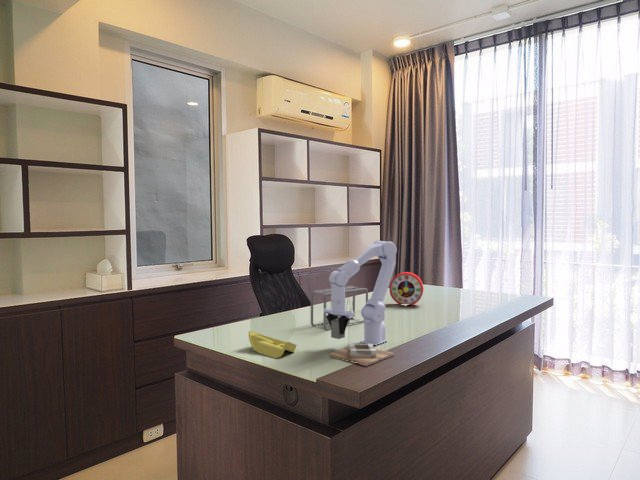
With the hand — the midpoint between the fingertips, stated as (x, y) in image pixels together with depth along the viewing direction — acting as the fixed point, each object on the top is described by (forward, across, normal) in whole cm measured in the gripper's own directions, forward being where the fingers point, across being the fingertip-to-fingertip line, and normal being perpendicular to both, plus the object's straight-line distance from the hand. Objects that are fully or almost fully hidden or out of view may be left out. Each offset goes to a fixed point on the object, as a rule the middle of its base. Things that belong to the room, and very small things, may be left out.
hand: (338, 333), depth 188 cm
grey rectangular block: (+2, 0, 0) cm, 2 cm away
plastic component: (+6, -17, -22) cm, 28 cm away
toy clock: (+7, -28, +98) cm, 102 cm away
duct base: (+6, +14, -2) cm, 15 cm away
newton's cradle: (+6, -26, +32) cm, 41 cm away
